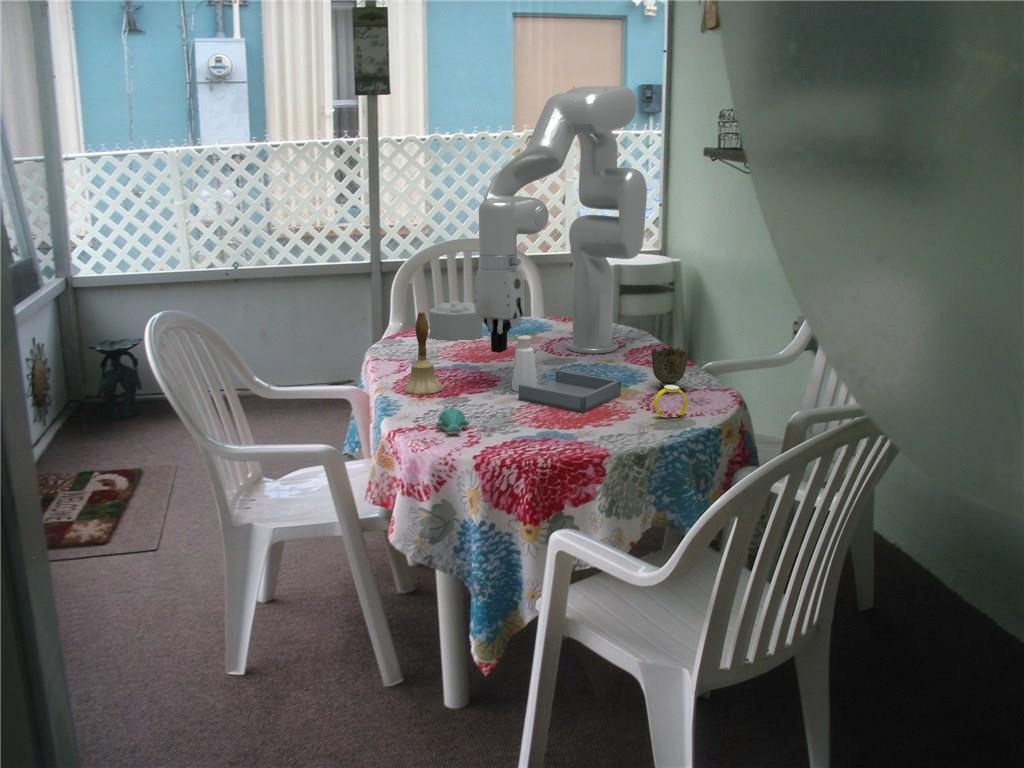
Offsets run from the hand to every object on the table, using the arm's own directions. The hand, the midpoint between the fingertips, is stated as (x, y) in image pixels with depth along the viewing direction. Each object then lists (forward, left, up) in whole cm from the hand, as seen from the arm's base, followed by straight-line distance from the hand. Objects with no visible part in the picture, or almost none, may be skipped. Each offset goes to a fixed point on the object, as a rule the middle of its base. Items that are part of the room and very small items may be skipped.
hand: (499, 350), depth 193 cm
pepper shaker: (0, +6, -7) cm, 10 cm away
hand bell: (+12, -11, -7) cm, 18 cm away
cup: (-17, +30, -7) cm, 36 cm away
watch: (0, +39, -7) cm, 40 cm away
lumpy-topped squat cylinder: (-29, -36, -7) cm, 47 cm away
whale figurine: (+29, +11, -8) cm, 32 cm away
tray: (0, +17, -7) cm, 19 cm away
